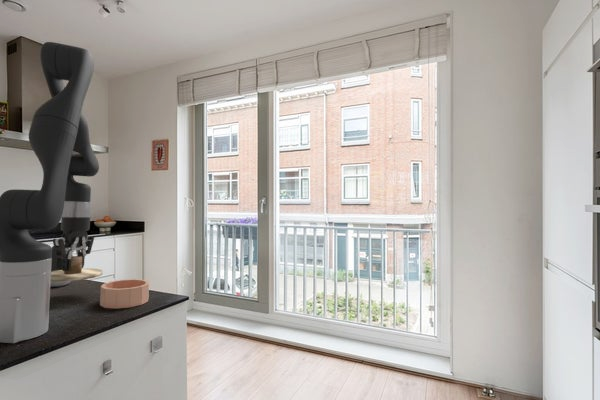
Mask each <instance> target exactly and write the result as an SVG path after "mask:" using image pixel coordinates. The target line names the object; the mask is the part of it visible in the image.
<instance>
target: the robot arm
mask: <svg viewBox="0 0 600 400" xmlns="http://www.w3.org/2000/svg"><path fill="white" fill-rule="evenodd" d="M39 55H40V63H41V68H42V72H43V75H44V77H45V81H46V84H47V87H48V91H49V94H50V96H51V98H50V99H48V100H47V101H45V102H44V103H42V104H41V105H40V106H39V107H38V108H37V109H36V110H35V112H34V114H33V117H32V119H31V124H30V128H29V131H28V140H29V141H28V142H29V144H30V147H31V149H32V151H33V153H34V154H35V156H36V158H37V159H38V161H39V163H40V165H41V168H42V172H43V179H42V185H41V188H40V189H8V190H5V191H4V192H2V194H1V195H0V343H5V344H7V343H8V344H16V343H18V342H22V341H26V340H27V341H28V340H31V339H33V338H37V337H40V336H41V335H44V334H45V333H47V332H48V331H49V320H50V304H51V303H50V301H51V299H50V297H51V287H50V283H51V264H52V247H53V246H54V249H55V254H56V257H59V258H61V259H62V270H63V271H70V270H71V259H70V258H71V256H72V255H73V253H74V252H75V253H76V256H82V269H84V266H85V258H86V256H87V255H89V254H91V252H92V247H93V245H94V240H95V236H94V235H93V236H91V235H88V232H87V231H89V230H90V229H91V228H90V227H91V213H92V212H91V210H92V209H91V198H92V197H91V195H92V194H91V192H92V189H91V186H90V185H89V184H86V183H82V182H78V181H76V180H75V178H74V177H88V178H89V177H94V176H96V175H97V174H98V172H99V169H100V164H99V161H98V158H97V156H96V154H95V153H94V150H93V146H92V145H91V141H90V132H89V126H88V121H87V119H86V117H85V116H84V114H83V113H82V109H83V106H84V101H85V99H86V96H87V92H88V90H89V87H90V84H91V81H92V79H93V73H94V57H93V55H92V53H91V52H90V51H89V50H88V49H85V48H82V47H79V46H74V45H68V44H63V43H59V42H52V41H47V42H46V41H45V42H44V43H43V44H42V45H41V49H40V54H39ZM64 81H68V82H67V83H66V86H65V84H64ZM73 152H75V153H73ZM59 224H60V231H62V235H61V237H59V238H53V240H52V244H53V246H51V245H50V244H46V243H45V242H43V241H42V242H41V241H39V240H37V239H35V238H34V237H32V236H31V234H30V233H29V230H30V231H31V230H37V231H41V230H43V231H44V230H45V231H47V230H48V231H49V230H53V229H54V228H56V227H57V226H58V225H59ZM67 247H68V248H69V249H67ZM60 251H61V254H60ZM67 252H68V254H67Z"/></svg>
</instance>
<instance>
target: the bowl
mask: <svg viewBox="0 0 600 400" xmlns="http://www.w3.org/2000/svg"><path fill="white" fill-rule="evenodd" d="M149 291H150V281H149V280H146V279H141V278H140V279H139V278H138V279H136V278H135V279H134V278H132V279H127V278H126V279H119V280H112V281H111V280H110V281H107V282H105V283H103V284H102V285H101V286H100V293H99V296H100V297H99V298H100V299H99V307H102V308H104V309H115V310H116V309H117V310H118V309H126V308H127V309H128V308H133V307H136V306H137V307H138V306H141V305H143V304H146V303H147V302H149V296H150V293H149Z"/></svg>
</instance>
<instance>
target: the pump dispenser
mask: <svg viewBox="0 0 600 400" xmlns="http://www.w3.org/2000/svg"><path fill="white" fill-rule="evenodd" d="M51 247H52V264H51V271H58V270H62V259H61V258H59V257H56V254H55V249H54V245H52V246H51ZM67 249H70V248H68V247H67ZM60 254H61V251H60ZM67 254H68V252H67ZM72 256H74V255H73V254H72ZM71 282H72V281H51V283H50V288H51V287H52V288H53V287H54V288H55V287H56V288H57V287H63V286H66V285H69V284H70V283H71Z"/></svg>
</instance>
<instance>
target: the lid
mask: <svg viewBox="0 0 600 400" xmlns="http://www.w3.org/2000/svg"><path fill="white" fill-rule="evenodd" d="M70 259H71V270H70V271H63V270H58V271H51V281H71V282H74V281H75V282H76V281H82V280H88V279H90V280H91V279H94V278H97V277H100V276H102V275H103V270H102V269H98V268H82V256H77V255H76V256H75V255H73V256H71V258H70Z"/></svg>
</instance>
